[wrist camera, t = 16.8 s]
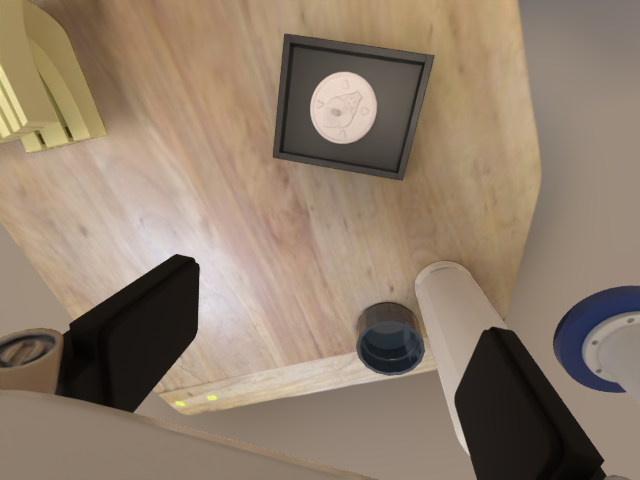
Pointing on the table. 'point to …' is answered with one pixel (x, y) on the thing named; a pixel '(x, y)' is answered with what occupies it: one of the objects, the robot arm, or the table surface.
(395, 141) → the tray
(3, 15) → the slatted curved stool
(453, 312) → the bottle
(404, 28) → the table surface
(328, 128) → the smoothie
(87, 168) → the table surface
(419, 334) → the bowl
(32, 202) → the table surface
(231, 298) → the table surface
